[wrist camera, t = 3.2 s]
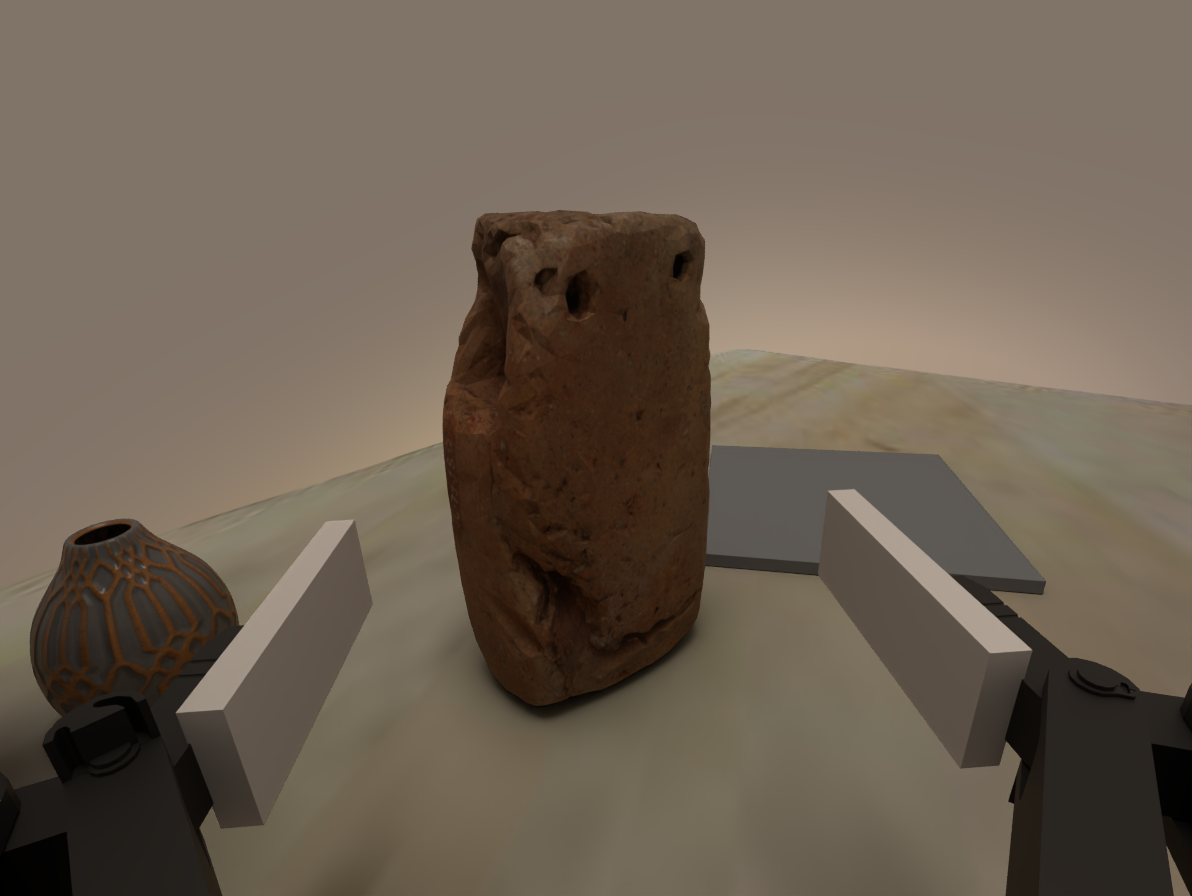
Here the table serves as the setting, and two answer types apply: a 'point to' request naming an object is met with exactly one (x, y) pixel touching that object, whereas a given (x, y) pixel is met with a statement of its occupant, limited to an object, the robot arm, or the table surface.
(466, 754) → the table surface
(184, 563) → the vase
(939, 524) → the mat
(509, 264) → the block
